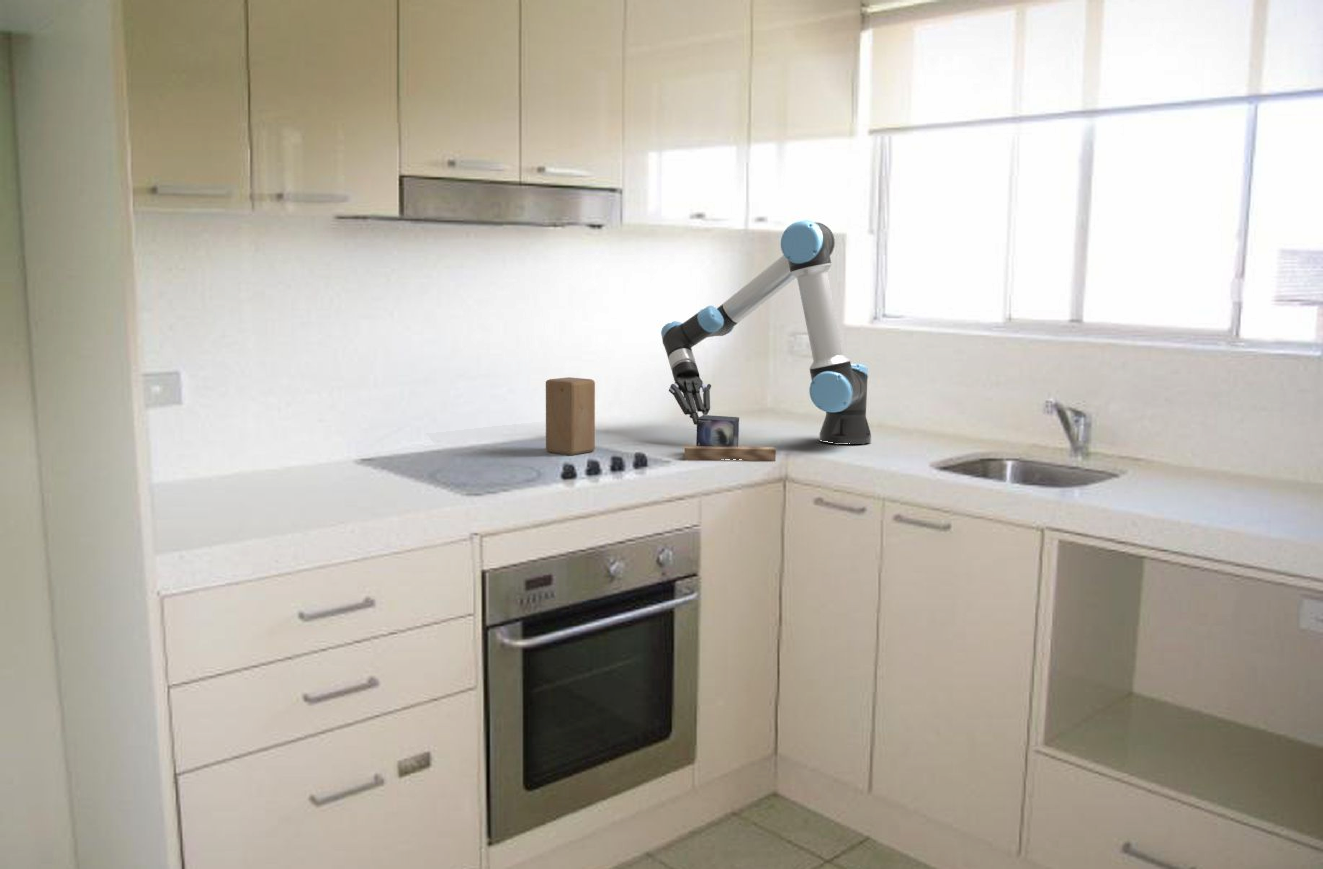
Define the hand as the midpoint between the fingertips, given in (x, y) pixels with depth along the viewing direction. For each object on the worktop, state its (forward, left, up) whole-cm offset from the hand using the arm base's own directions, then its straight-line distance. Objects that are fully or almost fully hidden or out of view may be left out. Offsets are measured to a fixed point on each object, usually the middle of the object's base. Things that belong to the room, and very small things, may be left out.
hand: (703, 432), depth 312 cm
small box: (+1, +14, -4) cm, 14 cm away
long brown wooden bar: (0, +21, -5) cm, 21 cm away
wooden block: (+38, -2, -4) cm, 39 cm away
